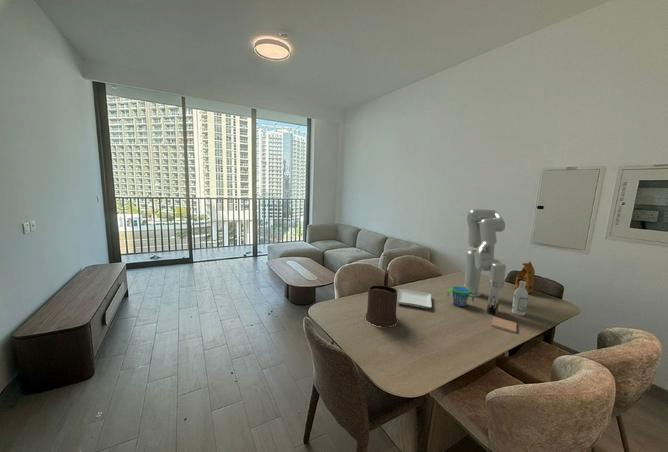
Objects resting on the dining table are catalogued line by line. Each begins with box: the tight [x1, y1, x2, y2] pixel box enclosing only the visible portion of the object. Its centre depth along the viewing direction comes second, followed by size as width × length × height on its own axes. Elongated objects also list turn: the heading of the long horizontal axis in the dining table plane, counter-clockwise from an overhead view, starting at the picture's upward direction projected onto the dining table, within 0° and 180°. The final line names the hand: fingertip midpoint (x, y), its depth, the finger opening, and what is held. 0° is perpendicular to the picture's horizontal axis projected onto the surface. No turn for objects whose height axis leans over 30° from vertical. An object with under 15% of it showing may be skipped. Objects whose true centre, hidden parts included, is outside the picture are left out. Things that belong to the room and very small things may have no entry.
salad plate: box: [397, 288, 433, 309], centre depth 169 cm, size 21×21×3 cm
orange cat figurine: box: [514, 261, 536, 294], centre depth 190 cm, size 10×12×22 cm
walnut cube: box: [486, 301, 500, 316], centre depth 157 cm, size 6×6×6 cm
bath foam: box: [511, 281, 529, 316], centre depth 156 cm, size 7×7×20 cm
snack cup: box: [446, 285, 475, 308], centre depth 166 cm, size 16×10×10 cm
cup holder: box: [364, 269, 398, 328], centre depth 146 cm, size 18×24×25 cm
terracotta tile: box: [491, 316, 517, 334], centre depth 142 cm, size 11×11×1 cm
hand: (492, 311), depth 157 cm, fingers closed on walnut cube, 5 cm apart
